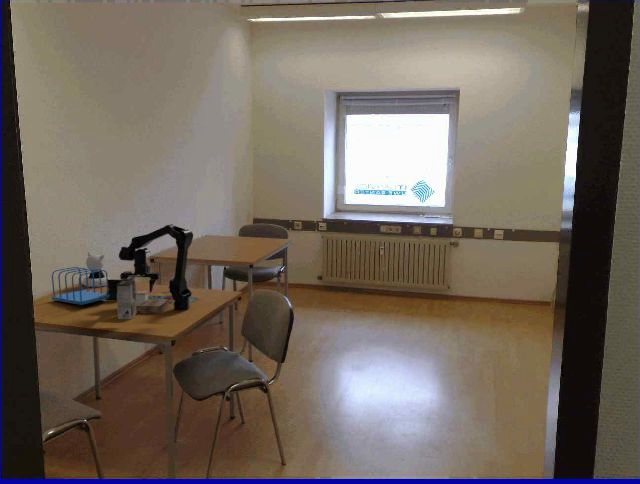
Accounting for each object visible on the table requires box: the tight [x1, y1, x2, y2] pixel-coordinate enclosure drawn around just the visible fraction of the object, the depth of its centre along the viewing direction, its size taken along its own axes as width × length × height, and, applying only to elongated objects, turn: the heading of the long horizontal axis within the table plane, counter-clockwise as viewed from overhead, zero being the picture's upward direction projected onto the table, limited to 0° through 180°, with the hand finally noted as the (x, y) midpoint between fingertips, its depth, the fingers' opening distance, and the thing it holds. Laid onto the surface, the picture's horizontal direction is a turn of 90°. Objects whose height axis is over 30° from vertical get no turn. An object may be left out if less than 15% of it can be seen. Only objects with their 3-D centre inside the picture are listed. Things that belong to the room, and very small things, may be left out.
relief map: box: [148, 290, 202, 305], centre depth 293 cm, size 25×15×2 cm, turn 52°
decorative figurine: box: [82, 251, 112, 288], centre depth 319 cm, size 15×15×20 cm
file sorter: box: [51, 266, 110, 306], centre depth 287 cm, size 25×17×15 cm
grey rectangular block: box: [105, 279, 122, 301], centre depth 289 cm, size 11×4×10 cm, turn 95°
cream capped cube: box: [136, 290, 150, 307], centre depth 279 cm, size 5×5×7 cm
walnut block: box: [138, 298, 169, 314], centre depth 270 cm, size 10×13×4 cm
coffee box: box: [116, 280, 137, 320], centre depth 257 cm, size 9×6×16 cm
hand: (141, 292), depth 278 cm, fingers open, 9 cm apart
